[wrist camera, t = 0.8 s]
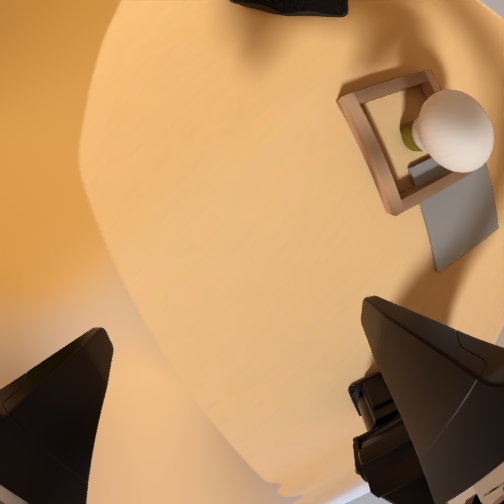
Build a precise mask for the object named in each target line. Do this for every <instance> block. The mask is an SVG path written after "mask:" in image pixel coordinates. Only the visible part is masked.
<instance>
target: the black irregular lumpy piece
mask: <svg viewBox="0 0 504 504" xmlns="http://www.w3.org/2000/svg"><path fill="white" fill-rule="evenodd" d="M230 1H231V2H233V3H236V4H240V5H243V6H246V7H250V8H254V9H258V10H262V11H266V12H269V13H273V14H279V15H284V16H324V17H344V16H346V15H347V14H348V0H230ZM344 13H345V14H344Z"/></svg>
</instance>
